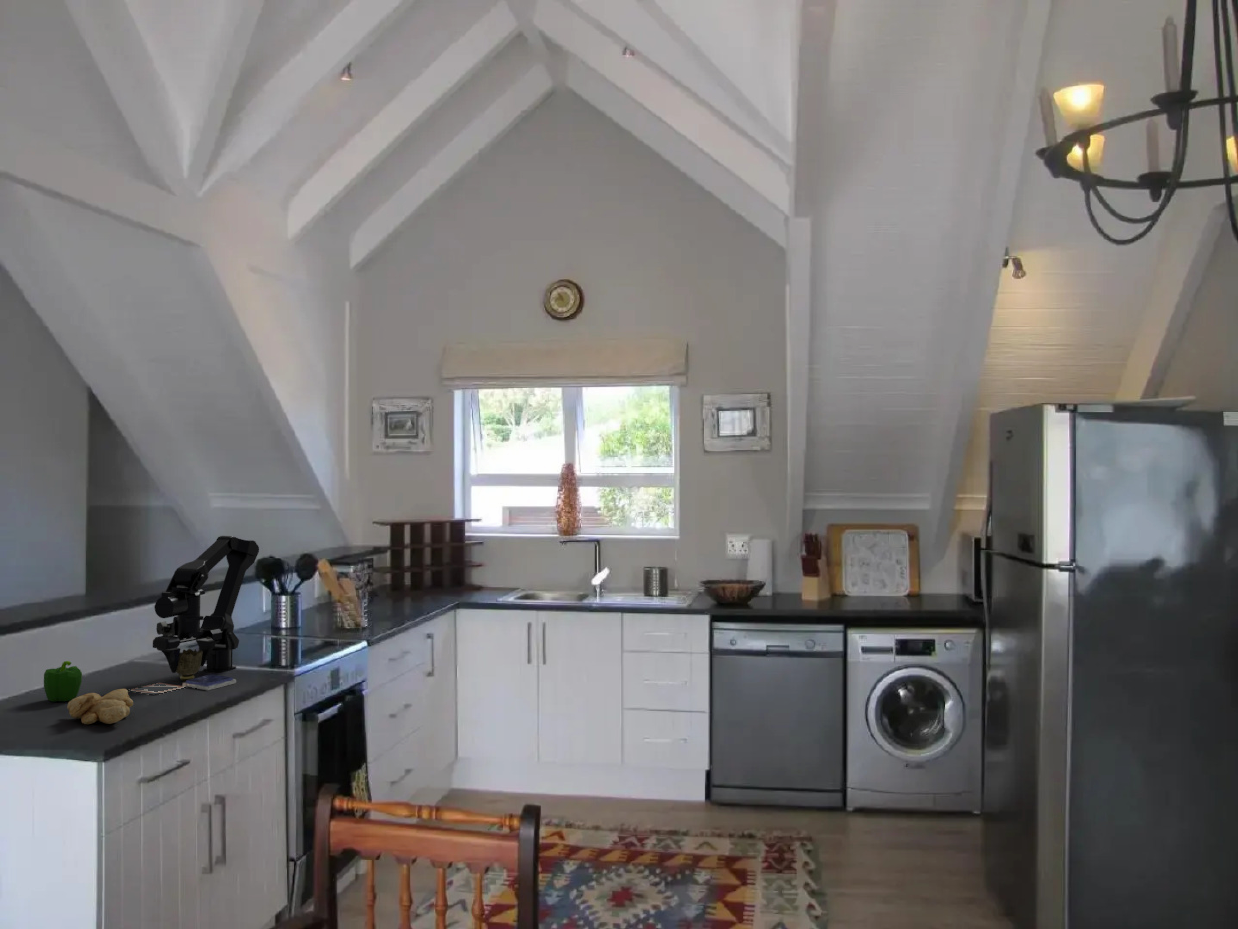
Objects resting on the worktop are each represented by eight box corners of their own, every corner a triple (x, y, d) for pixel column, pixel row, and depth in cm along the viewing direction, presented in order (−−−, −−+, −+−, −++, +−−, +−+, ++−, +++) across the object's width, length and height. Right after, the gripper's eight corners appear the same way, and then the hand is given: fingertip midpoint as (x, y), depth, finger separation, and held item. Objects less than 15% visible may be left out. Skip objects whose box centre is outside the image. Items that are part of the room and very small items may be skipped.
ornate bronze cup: (194, 676, 267) (194, 647, 267) (207, 680, 262) (207, 651, 262) (167, 680, 261) (168, 651, 261) (180, 684, 257) (180, 655, 257)
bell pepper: (40, 699, 239) (41, 659, 239) (77, 694, 244) (78, 655, 244) (46, 706, 232) (47, 665, 232) (84, 701, 238) (85, 661, 238)
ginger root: (78, 705, 228) (86, 673, 228) (144, 721, 230) (152, 689, 229) (42, 725, 213) (51, 691, 213) (113, 742, 214) (122, 708, 214)
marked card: (159, 683, 257) (159, 682, 257) (186, 687, 253) (186, 686, 253) (127, 691, 249) (127, 689, 249) (155, 695, 245) (155, 694, 245)
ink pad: (211, 679, 263) (211, 673, 263) (236, 683, 260) (236, 677, 260) (182, 686, 255) (182, 680, 255) (207, 690, 251) (207, 684, 251)
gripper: (195, 606, 274) (194, 660, 274) (138, 615, 257) (137, 673, 257) (223, 609, 269) (222, 664, 269) (168, 618, 252) (167, 677, 252)
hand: (187, 669), depth 262 cm, fingers open, 9 cm apart
